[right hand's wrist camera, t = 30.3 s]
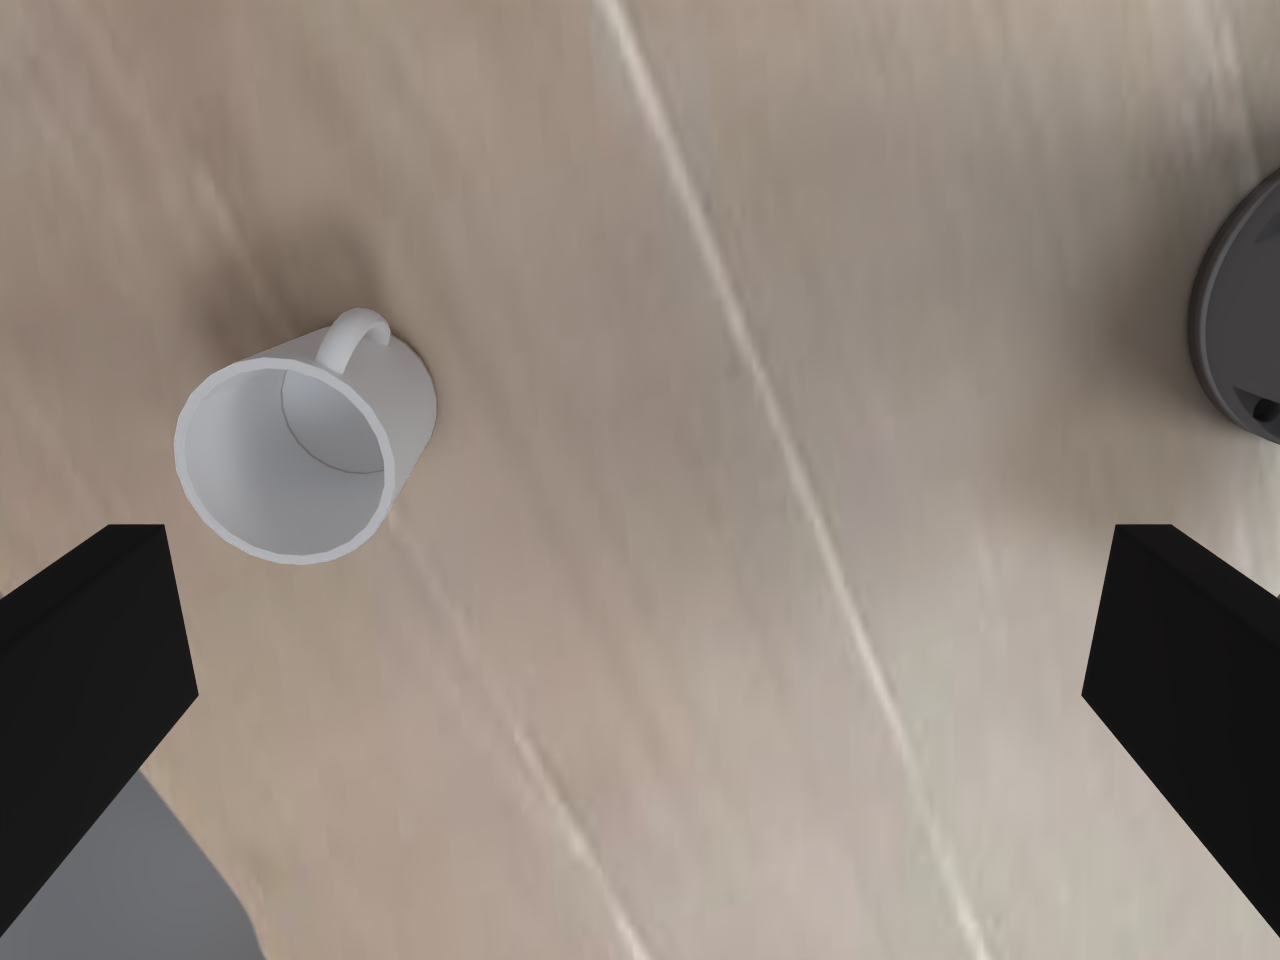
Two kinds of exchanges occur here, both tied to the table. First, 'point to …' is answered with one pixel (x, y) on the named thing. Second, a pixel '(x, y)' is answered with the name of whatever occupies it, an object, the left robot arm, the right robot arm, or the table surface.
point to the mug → (307, 440)
